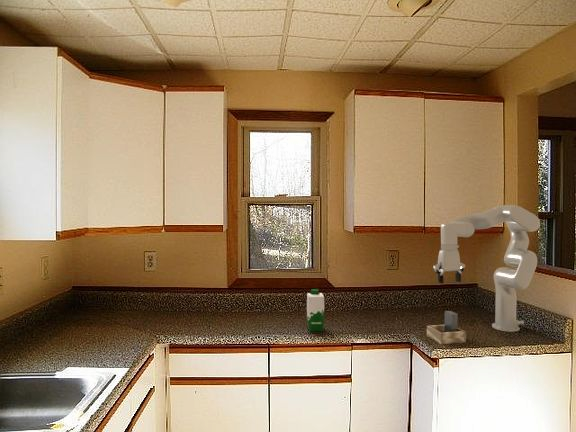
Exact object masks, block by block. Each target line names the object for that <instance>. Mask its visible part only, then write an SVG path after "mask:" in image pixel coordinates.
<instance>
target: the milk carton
mask: <svg viewBox="0 0 576 432" xmlns="http://www.w3.org/2000/svg"><path fill="white" fill-rule="evenodd" d="M319 291H320V290H319V288H312V289H310V292H308V293H307V294H306V295H307V297H306V320H307V321H306V322H307V328H308V330H309V332H324V329H325V328H324V324H325V296H324V294H323V293H322V292H319Z"/></svg>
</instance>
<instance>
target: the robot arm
mask: <svg viewBox="0 0 576 432" xmlns="http://www.w3.org/2000/svg"><path fill="white" fill-rule="evenodd" d="M503 223H505V224H506V226H507V228H508V229H507V230H509V233H510V240H509V244H508V246H507V247H506V252H505V253H504V256H503V257H504V258H503V261H504V264H505V265H507V266H509V267H498V268H496V269H495V271H494V273H493V281H494V287H495V306H494V307H495V310H494V311H495V314H494V315H495V316H494V317H495V318H494V322H493V323H491V327H492V329H495V330H497V331H502V332H510V333H515V332H519V331H520V329H521V328H520V325H525V322H524V320H518V319H517V292H516V290H525V289H527V288H528V287H529V286H530V284H531V281H532V279H533V276H534V274H535V271H536V268H537V266H538V257H537V254H536V253H535V252H533V251H531V250H528V249H529V245H530V239H529V235H528V233H529V232H530V233H533V232H535V231H538V229H539V228H540V226H541V222H540V219H539V217H538V216H537V215H535V214H534V213H532V212H530V211H529V210H527V209H525V208H523V207H522V206H520V205H514V204H507V205H506V204H503V205H501V204H500V205H498V206H495V207H492V208H489V209H488V210H485V211H482V212H478V213H473V214H470V215H466V216H461V217H459V218H457V219H454V220H452V221H450V222H442V223H441V224H440V250H439V252H438V256H437V263H436V264H435V265H433V268H432V269H433V270H434V272H435V273H436V275H437V281H438V283H439V284H442V285H443V284H444V273H445V272H455V273H454V274H455V278H454V279H455V282H456V283H457V282H458V283H461V282H462V274H463V272H464V271H465V267H466V263H463V262H461V258H460V257H461V256H460V252H459V250H458V248H460V245H459V244H458V237H459V238H460V237H461V238H470V237H472V236H473V235H474V233H475V230H486V229H490V228H493V227H494V226H498V225H500V224H503ZM511 267H512V268H511Z"/></svg>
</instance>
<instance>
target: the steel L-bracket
mask: <svg viewBox="0 0 576 432" xmlns="http://www.w3.org/2000/svg"><path fill="white" fill-rule="evenodd" d="M458 316H459V314H458V313H456V312H454V311H452V310H445V311H444V325H445V328H444V333H445V332H458V328H459V327H458V325H459V323H458V321H459V319H458V318H459V317H458Z"/></svg>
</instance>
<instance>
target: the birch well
mask: <svg viewBox="0 0 576 432" xmlns="http://www.w3.org/2000/svg"><path fill="white" fill-rule="evenodd" d="M444 328H445V324H436V325H433V324H431V325H426V337H428V338H429V337H430V339H431V338H432V339H431V340H433V339H434V340H435V341H434V340H433V341H434V342H436V341H437V342H436V343H438V344H440V345H449V344H450V345H451V344H462V343H466V342H467V331H466V330H464V329H461V328H459V327H458V332H445V333H444Z"/></svg>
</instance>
